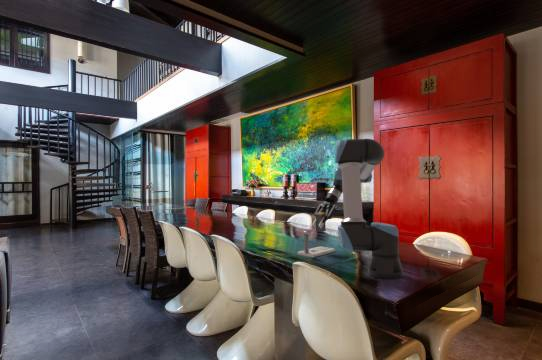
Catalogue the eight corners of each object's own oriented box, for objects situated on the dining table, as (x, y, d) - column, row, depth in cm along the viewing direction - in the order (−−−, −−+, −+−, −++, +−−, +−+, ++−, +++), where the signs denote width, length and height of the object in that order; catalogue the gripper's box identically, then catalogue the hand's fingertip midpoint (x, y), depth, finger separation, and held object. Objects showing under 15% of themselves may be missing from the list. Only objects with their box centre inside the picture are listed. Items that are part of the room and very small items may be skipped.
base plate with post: (312, 259, 164) (311, 235, 164) (297, 255, 172) (297, 233, 172) (335, 253, 178) (334, 230, 178) (320, 250, 186) (320, 229, 186)
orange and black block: (321, 231, 175) (321, 213, 175) (316, 231, 178) (315, 212, 178) (325, 231, 178) (325, 212, 178) (320, 230, 181) (319, 212, 181)
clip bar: (310, 234, 168) (309, 231, 168) (305, 234, 167) (304, 231, 167) (296, 229, 184) (296, 227, 184) (292, 230, 183) (292, 227, 183)
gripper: (346, 201, 182) (331, 232, 171) (324, 200, 195) (308, 228, 184) (341, 193, 179) (325, 223, 168) (319, 193, 191) (302, 221, 180)
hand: (316, 226), depth 176 cm, fingers closed on orange and black block, 4 cm apart
